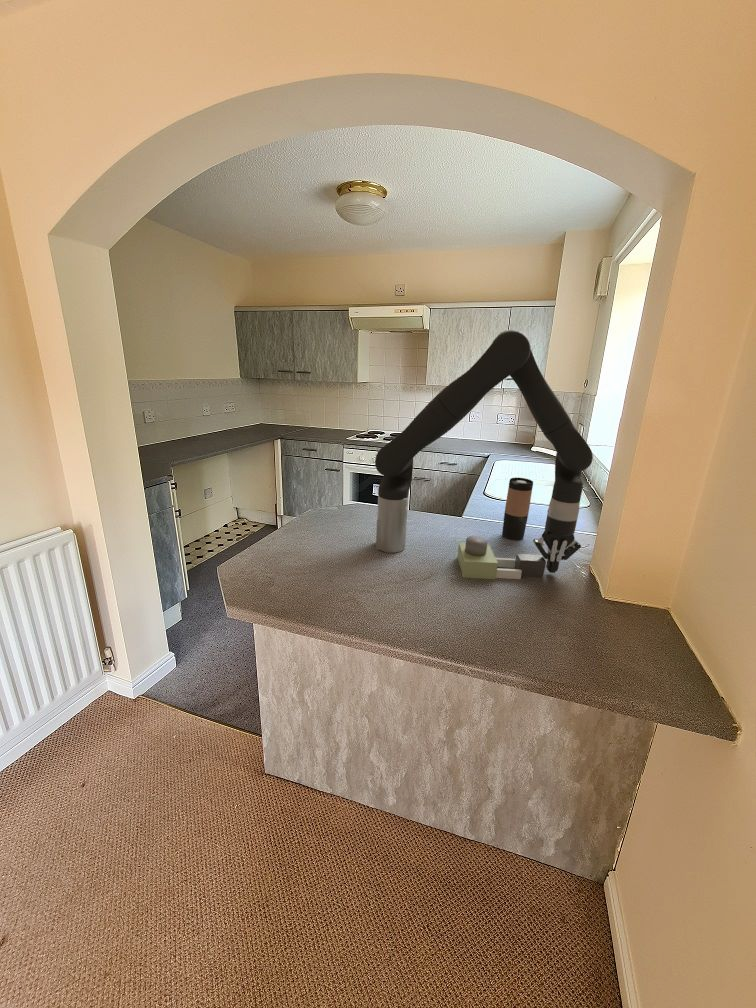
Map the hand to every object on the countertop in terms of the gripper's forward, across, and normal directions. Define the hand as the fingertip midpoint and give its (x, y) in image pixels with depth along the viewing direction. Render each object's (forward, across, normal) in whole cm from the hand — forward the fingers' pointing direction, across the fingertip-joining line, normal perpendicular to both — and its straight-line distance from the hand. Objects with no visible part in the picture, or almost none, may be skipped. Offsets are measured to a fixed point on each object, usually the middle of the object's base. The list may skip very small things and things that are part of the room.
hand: (551, 571), depth 116 cm
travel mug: (+1, -4, +26) cm, 27 cm away
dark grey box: (+1, -6, 0) cm, 6 cm away
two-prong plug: (+1, -18, +1) cm, 18 cm away
